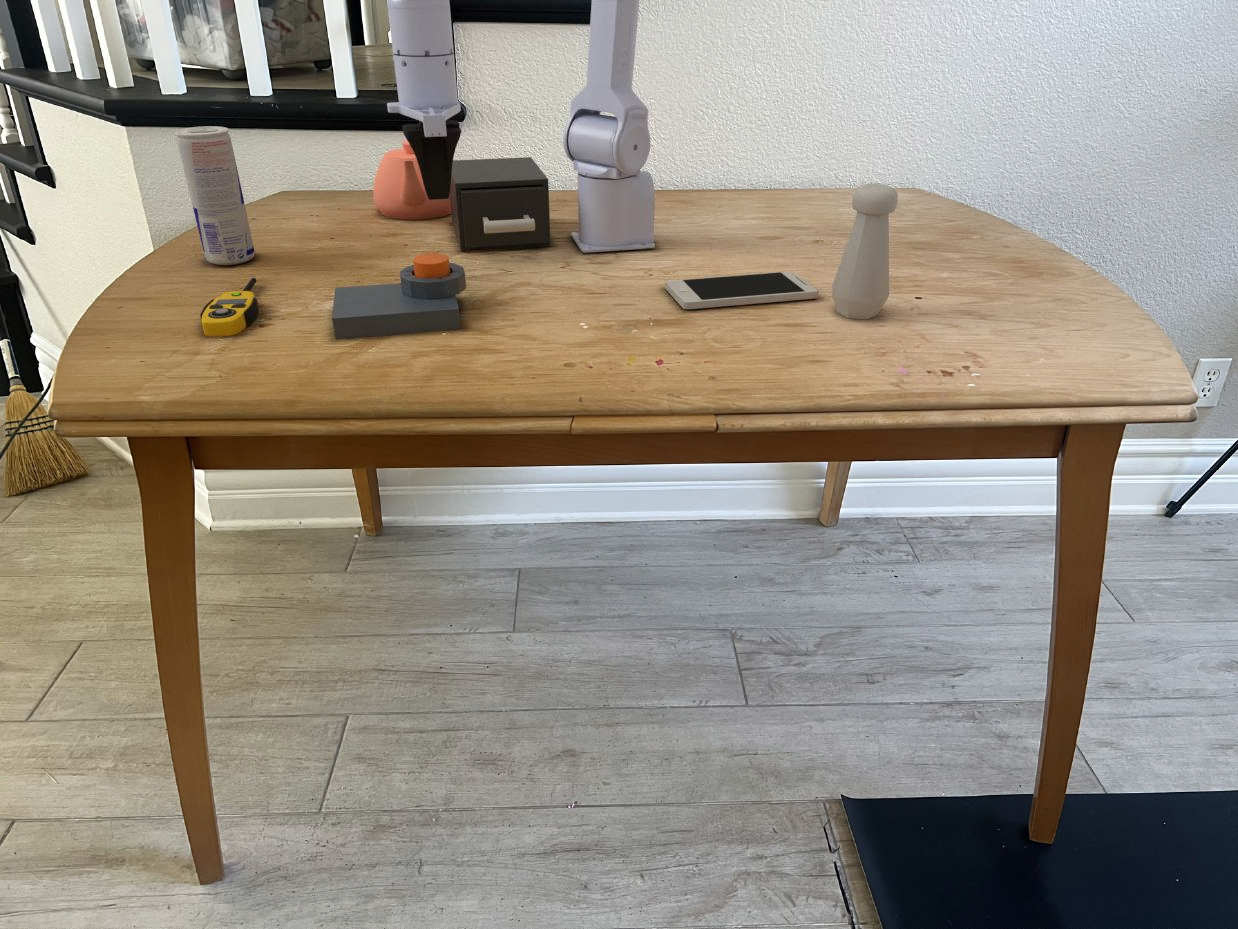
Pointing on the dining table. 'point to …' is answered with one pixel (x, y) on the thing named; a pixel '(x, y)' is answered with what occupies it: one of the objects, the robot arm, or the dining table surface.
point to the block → (399, 305)
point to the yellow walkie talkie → (230, 312)
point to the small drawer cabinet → (493, 175)
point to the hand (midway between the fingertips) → (438, 197)
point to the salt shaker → (866, 254)
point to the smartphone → (740, 290)
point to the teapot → (404, 188)
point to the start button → (431, 265)
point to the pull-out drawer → (504, 215)
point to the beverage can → (216, 194)
